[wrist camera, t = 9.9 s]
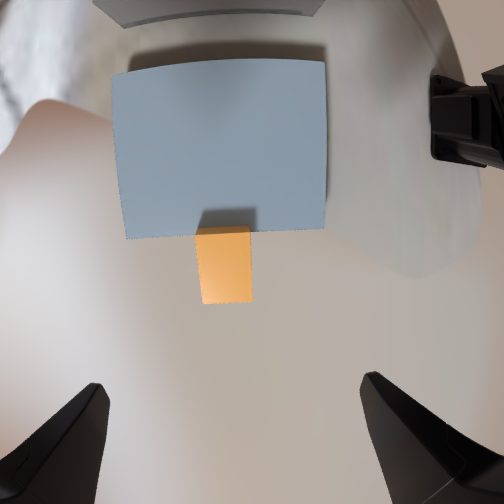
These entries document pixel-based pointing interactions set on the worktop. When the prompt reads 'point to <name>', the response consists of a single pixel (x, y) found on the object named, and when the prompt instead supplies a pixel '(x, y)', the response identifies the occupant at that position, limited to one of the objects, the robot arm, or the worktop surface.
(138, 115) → the lid
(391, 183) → the worktop surface
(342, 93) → the worktop surface
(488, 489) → the robot arm
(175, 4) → the parts tub
